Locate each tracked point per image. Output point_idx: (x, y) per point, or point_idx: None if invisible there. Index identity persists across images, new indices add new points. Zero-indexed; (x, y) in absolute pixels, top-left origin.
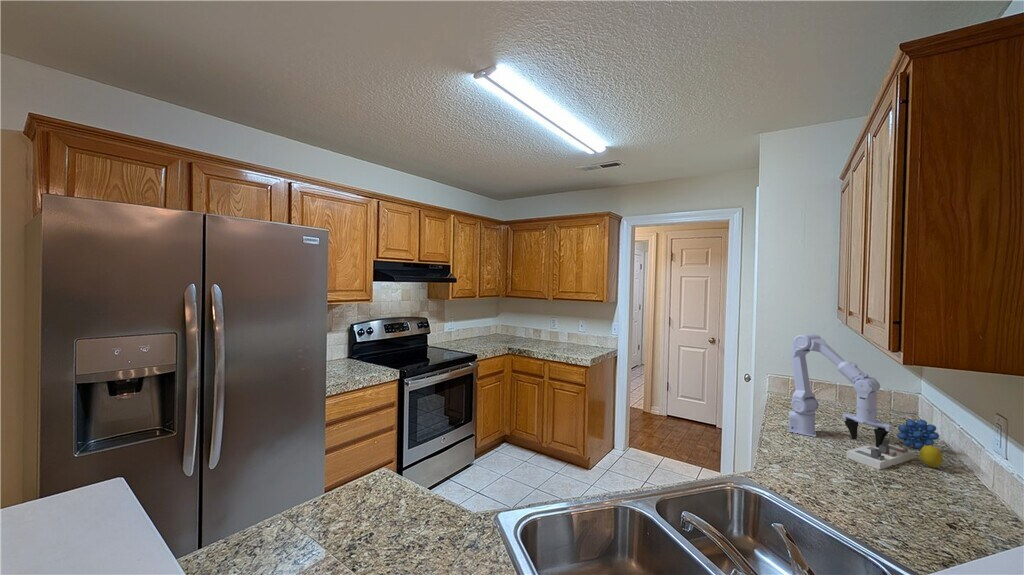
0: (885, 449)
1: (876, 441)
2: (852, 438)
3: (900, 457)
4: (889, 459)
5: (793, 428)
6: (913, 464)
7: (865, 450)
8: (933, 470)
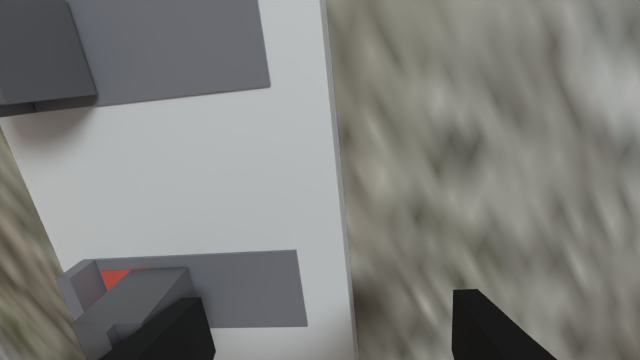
0: (100, 300)
1: (129, 351)
2: (474, 296)
3: None
4: (19, 159)
5: None
6: None
7: (253, 170)
8: (27, 353)
